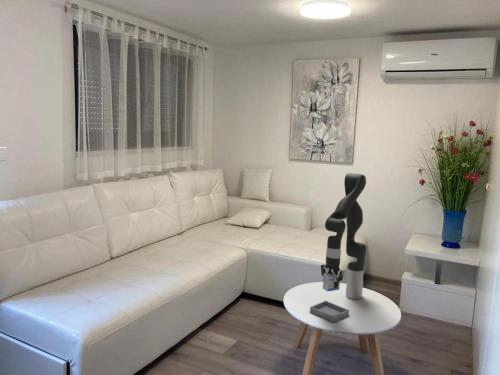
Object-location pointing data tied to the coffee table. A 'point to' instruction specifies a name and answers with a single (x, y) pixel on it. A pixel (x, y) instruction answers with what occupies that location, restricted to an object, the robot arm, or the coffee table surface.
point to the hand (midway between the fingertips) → (331, 286)
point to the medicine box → (329, 282)
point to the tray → (329, 311)
